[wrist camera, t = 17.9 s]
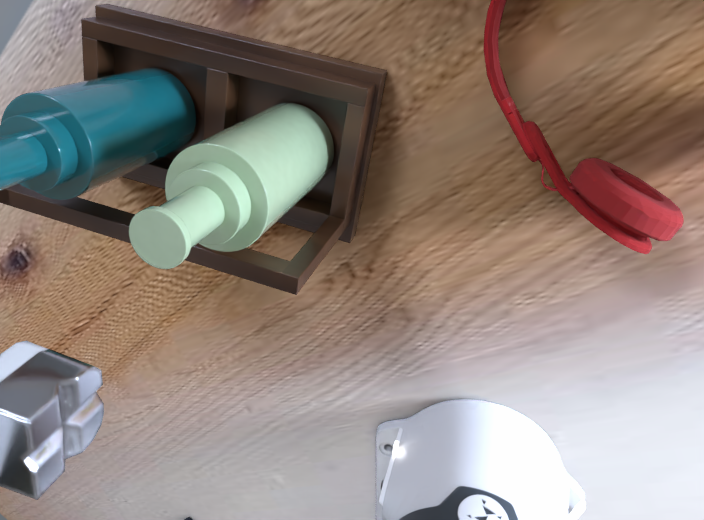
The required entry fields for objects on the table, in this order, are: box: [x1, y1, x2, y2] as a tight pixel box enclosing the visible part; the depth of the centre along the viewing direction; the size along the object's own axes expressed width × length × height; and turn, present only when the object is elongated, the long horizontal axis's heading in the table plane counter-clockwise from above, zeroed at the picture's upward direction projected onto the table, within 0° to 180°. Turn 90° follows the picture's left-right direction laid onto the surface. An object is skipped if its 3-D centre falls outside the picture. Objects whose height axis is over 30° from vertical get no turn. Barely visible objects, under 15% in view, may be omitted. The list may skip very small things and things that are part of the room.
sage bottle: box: [129, 103, 334, 269], centre depth 37 cm, size 6×6×18 cm
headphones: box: [484, 0, 683, 254], centre depth 35 cm, size 15×7×20 cm
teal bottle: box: [0, 68, 196, 200], centre depth 38 cm, size 6×6×18 cm
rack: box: [0, 4, 387, 295], centre depth 41 cm, size 13×22×13 cm, turn 80°
